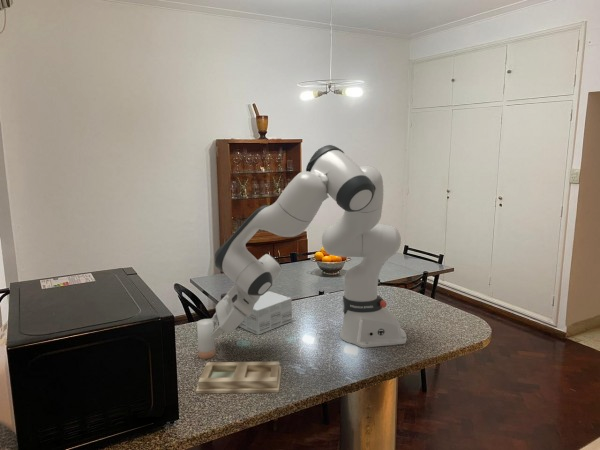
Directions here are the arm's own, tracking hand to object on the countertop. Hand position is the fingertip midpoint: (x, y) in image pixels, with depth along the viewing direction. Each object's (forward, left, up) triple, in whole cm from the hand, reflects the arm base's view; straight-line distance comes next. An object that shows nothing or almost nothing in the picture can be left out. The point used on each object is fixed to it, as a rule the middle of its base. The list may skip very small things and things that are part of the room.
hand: (210, 331), depth 138 cm
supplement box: (-14, -25, -8) cm, 30 cm away
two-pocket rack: (-11, +16, -8) cm, 21 cm away
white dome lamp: (+2, 0, -8) cm, 8 cm away
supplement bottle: (-1, -23, -8) cm, 24 cm away
